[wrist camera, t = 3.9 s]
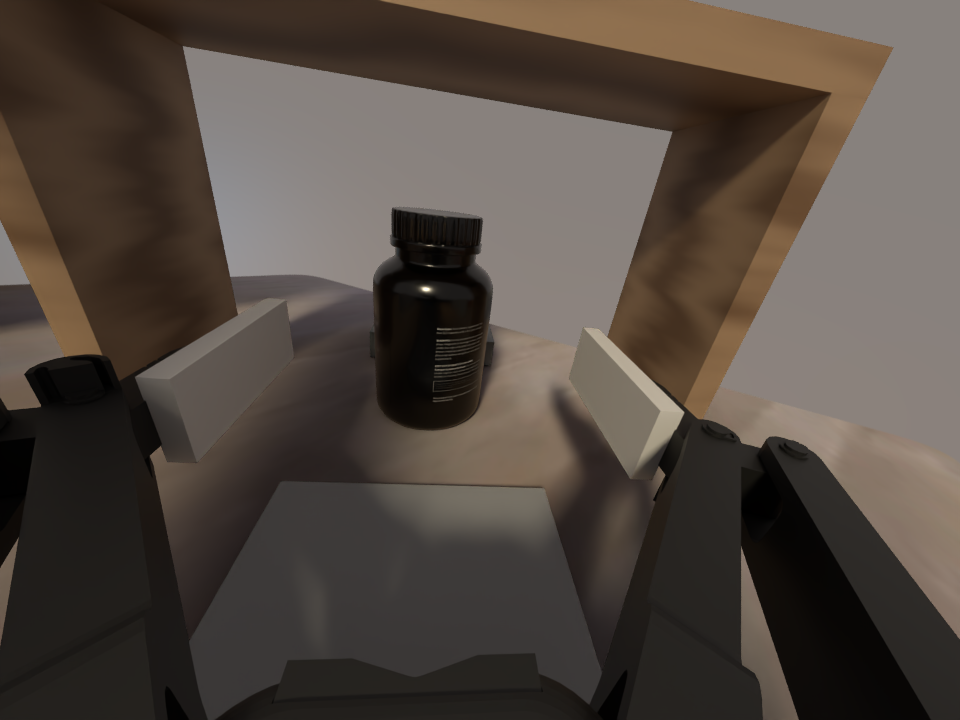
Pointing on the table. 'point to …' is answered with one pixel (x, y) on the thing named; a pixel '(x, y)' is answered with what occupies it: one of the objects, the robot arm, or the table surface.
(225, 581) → the coaster
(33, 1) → the bridge
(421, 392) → the supplement bottle
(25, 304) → the table surface
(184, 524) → the table surface
